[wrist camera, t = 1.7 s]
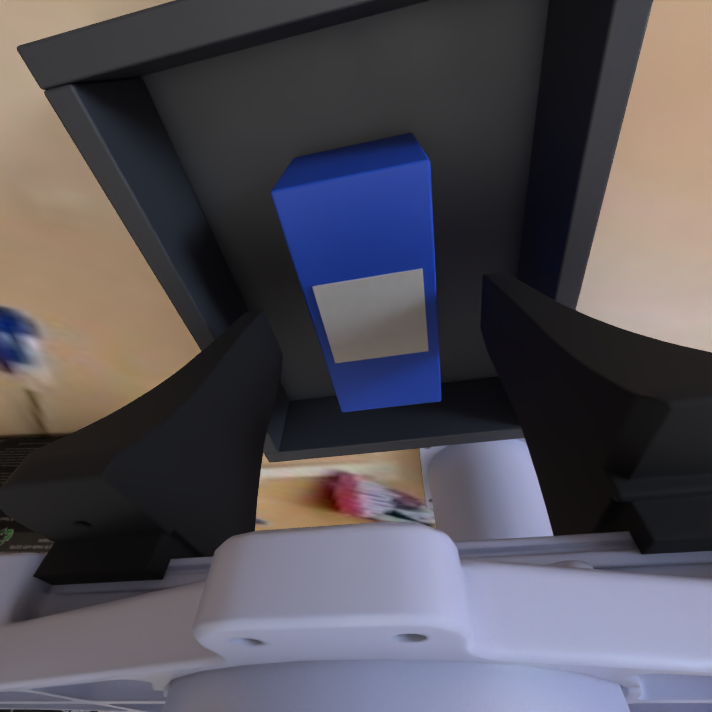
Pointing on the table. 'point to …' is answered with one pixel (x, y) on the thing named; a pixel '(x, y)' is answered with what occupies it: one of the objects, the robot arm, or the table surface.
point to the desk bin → (341, 129)
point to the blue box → (367, 267)
